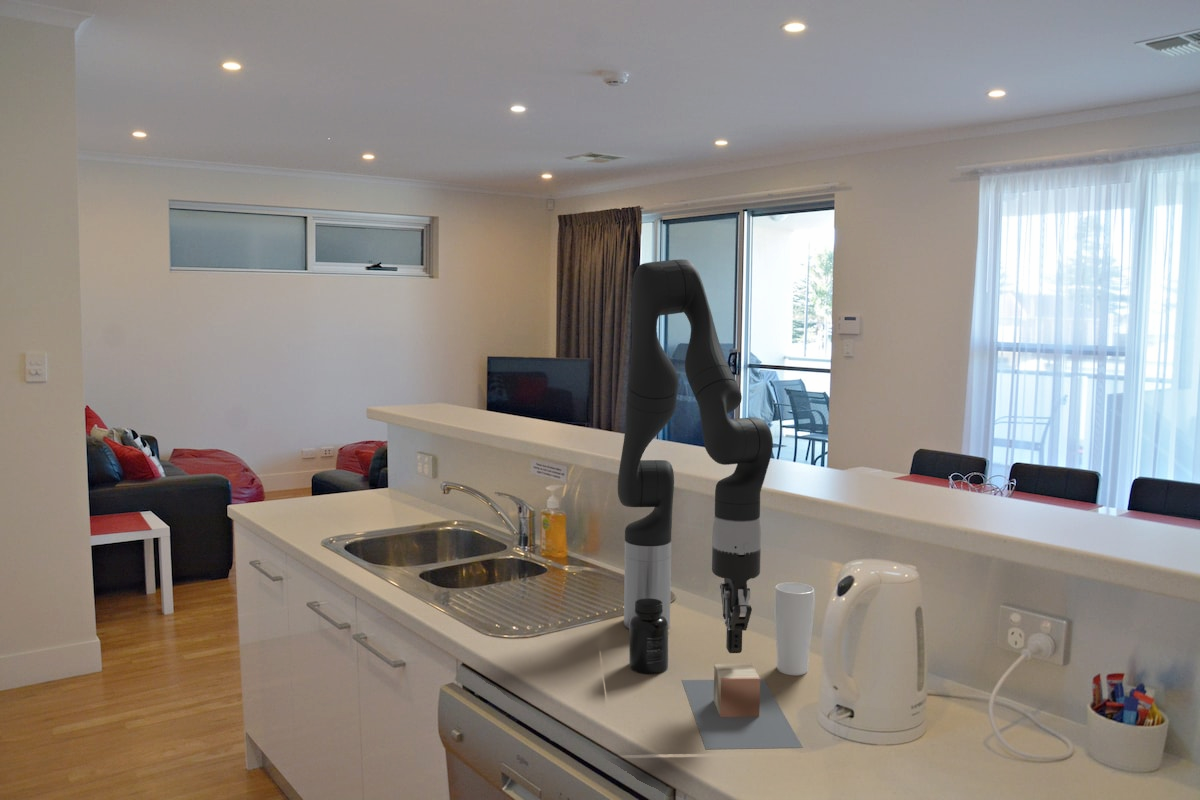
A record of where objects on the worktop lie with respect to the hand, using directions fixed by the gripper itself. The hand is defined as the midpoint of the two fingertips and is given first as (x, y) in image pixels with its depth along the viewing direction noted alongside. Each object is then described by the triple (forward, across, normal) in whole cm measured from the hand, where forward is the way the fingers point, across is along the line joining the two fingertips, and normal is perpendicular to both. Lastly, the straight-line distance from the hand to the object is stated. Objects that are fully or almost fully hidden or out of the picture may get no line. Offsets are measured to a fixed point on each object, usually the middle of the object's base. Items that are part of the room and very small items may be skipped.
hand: (734, 651), depth 141 cm
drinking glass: (+9, -12, +13) cm, 20 cm away
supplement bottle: (+9, -14, -12) cm, 21 cm away
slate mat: (+9, +4, 0) cm, 9 cm away
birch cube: (+5, 0, 0) cm, 5 cm away
